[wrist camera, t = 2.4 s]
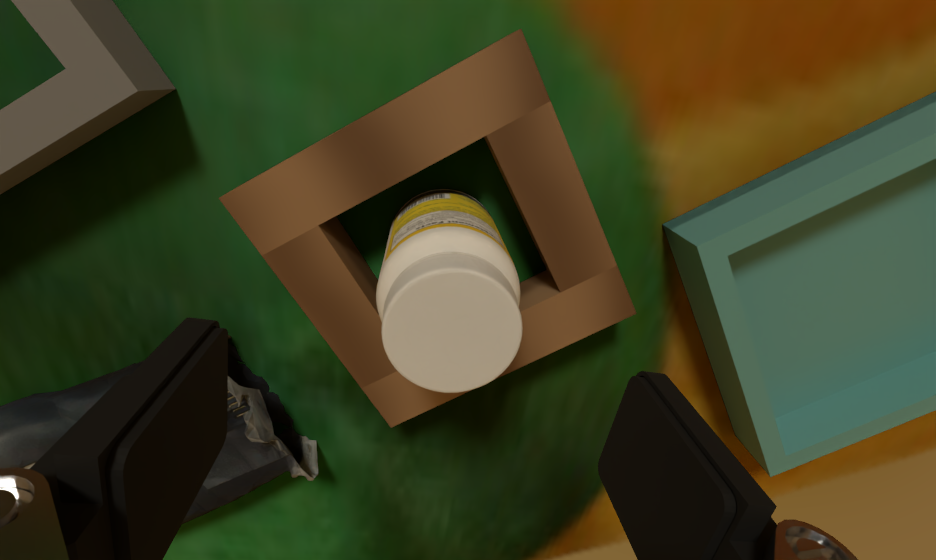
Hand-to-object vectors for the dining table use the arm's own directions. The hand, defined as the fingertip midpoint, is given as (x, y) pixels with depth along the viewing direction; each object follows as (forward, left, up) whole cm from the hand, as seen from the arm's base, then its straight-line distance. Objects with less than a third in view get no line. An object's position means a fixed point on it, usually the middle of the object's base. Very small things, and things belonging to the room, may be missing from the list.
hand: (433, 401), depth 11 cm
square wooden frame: (-1, 0, -11) cm, 11 cm away
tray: (-17, +11, -11) cm, 23 cm away
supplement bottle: (-1, 0, -11) cm, 11 cm away
